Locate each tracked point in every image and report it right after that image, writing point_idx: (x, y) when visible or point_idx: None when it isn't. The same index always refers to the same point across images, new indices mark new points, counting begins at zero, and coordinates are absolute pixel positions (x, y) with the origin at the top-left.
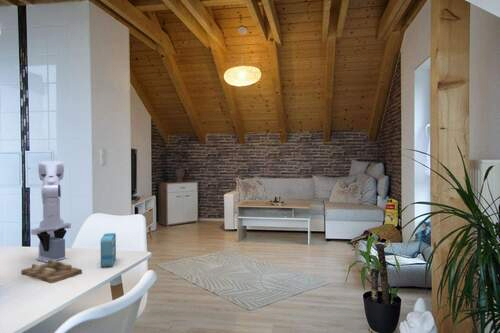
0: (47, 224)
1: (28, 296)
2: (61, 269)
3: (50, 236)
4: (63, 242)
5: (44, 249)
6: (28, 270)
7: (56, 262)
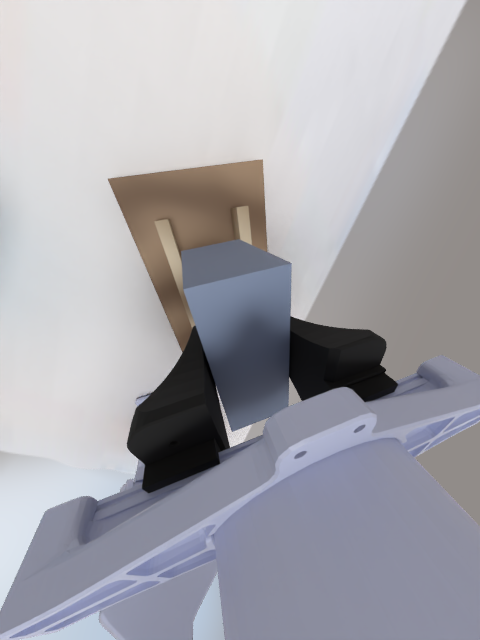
0: (461, 508)
1: (367, 70)
2: None
3: (232, 424)
4: (197, 275)
5: None
6: None
7: None
